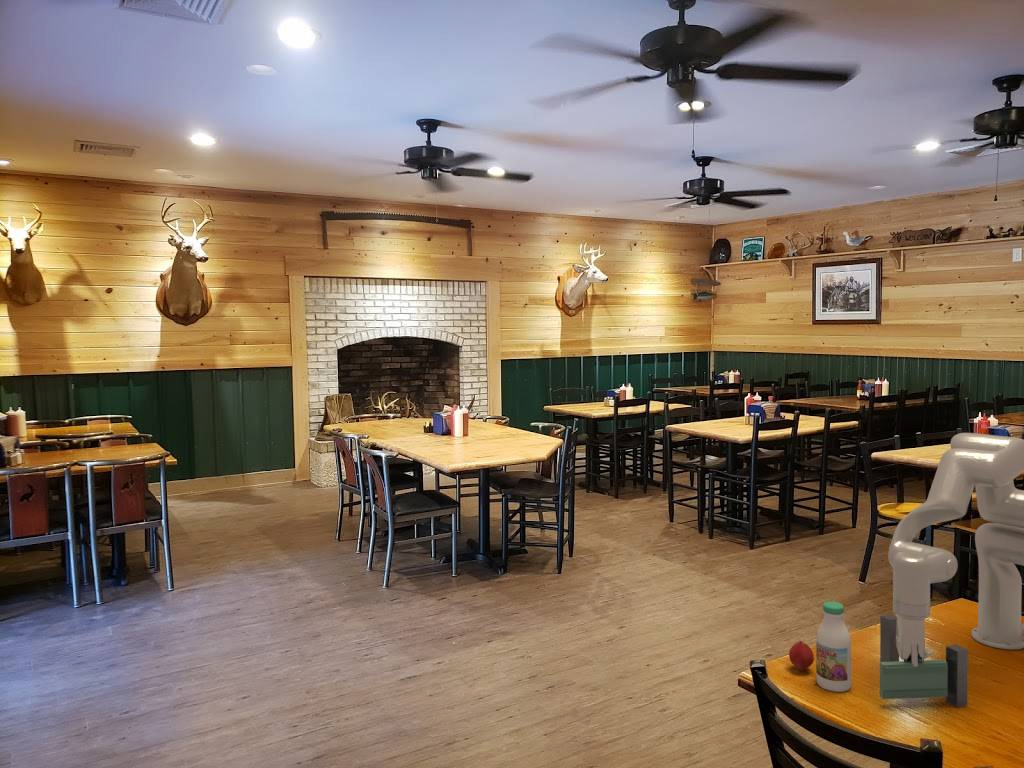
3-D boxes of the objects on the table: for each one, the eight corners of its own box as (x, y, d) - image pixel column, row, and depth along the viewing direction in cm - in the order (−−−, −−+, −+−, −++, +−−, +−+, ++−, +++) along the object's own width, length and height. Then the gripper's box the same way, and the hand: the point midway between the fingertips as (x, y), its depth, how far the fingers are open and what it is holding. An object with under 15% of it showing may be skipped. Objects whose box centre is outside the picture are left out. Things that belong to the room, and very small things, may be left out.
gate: (943, 693, 167) (943, 659, 167) (948, 697, 165) (948, 663, 165) (879, 695, 167) (879, 662, 167) (884, 700, 165) (884, 666, 165)
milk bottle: (824, 674, 183) (823, 596, 181) (856, 684, 177) (856, 603, 175) (811, 685, 177) (810, 605, 176) (843, 696, 172) (843, 613, 170)
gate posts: (889, 663, 187) (889, 613, 186) (967, 705, 166) (967, 649, 165) (880, 665, 186) (880, 615, 185) (957, 707, 165) (957, 651, 164)
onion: (785, 665, 188) (784, 635, 187) (806, 664, 188) (806, 633, 188) (795, 676, 182) (795, 645, 181) (818, 674, 182) (817, 643, 182)
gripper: (889, 593, 177) (889, 666, 179) (897, 618, 163) (897, 697, 165) (924, 596, 175) (924, 670, 176) (935, 621, 161) (935, 701, 162)
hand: (911, 683), depth 171 cm, fingers closed
